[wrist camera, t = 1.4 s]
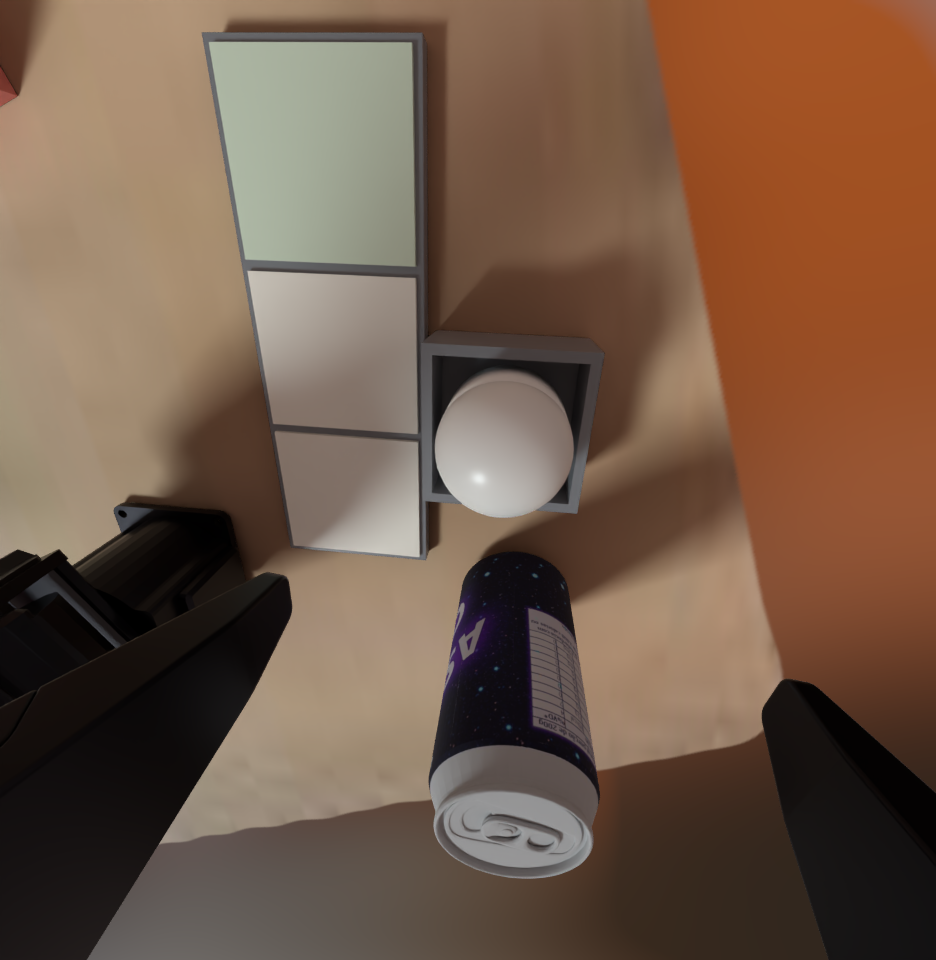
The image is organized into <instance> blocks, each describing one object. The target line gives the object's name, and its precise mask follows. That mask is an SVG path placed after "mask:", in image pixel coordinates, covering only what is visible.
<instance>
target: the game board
mask: <svg viewBox="0 0 936 960" xmlns="http://www.w3.org/2000/svg"><path fill="white" fill-rule="evenodd" d="M202 37H203V42H204V48H205V54H206V60H207V65H208V71H209V77H210V83H211V89H212V94H213V100H214V106H215V112H216V118H217V123H218V129H219V135H220V141H221V146H222V152H223V158H224V164H225V170H226V175H227V181H228V187H229V193H230V199H231V204H232V210H233V216H234V222H235V227H236V233H237V239H238V245H239V251H240V256H241V262H242V268H243V274H244V280H245V285H246V291H247V297H248V303H249V308H250V314H251V320H252V326H253V332H254V337H255V343H256V349H257V355H258V361H259V366H260V372H261V378H262V384H263V389H264V395H265V401H266V407H267V413H268V418H269V424H270V430H271V436H272V442H273V447H274V453H275V459H276V465H277V470H278V476H279V482H280V488H281V494H282V499H283V505H284V511H285V517H286V523H287V528H288V534H289V540H290V546H291V548H301V549H312V550H323V551H333V552H344V553H355V554H365V555H376V556H387V557H397V558H408V559H419V560H426V559H427V555H428V552H429V501H423V493H422V396H421V342H423V341H424V340H425V339H427V338H428V169H427V43H426V40H425V38H424V35H423V33H232V32H202Z"/></svg>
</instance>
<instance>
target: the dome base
mask: <svg viewBox="0 0 936 960" xmlns="http://www.w3.org/2000/svg"><path fill="white" fill-rule="evenodd" d="M604 354H605V353H604V352H603V351H602V350H601V349H600V348H599V347H598V346H597V345H596V344H595V343H594V342H593V341H592V340H591V339H590V338H578V337H559V336H540V335H521V334H502V333H484V332H465V331H446V330H437V331H435V332H434V333H433V334H432V335H430V336H429V337H428V338H427V339H425V340H424V341H423V342H421V396H422V493H423V501H431V502H443V503H455V504H462V503H461V502H460V501H458V500H457V499H456V498H455V497H454V496H453V495H452V494H451V493H450V491H449V490H448V489H447V487H446V486H445V484H444V482H443V480H442V478H441V476H440V474H439V471H438V468H437V464H436V458H435V439H436V434H437V430H438V427H439V424H440V421H441V419H442V417H443V415H444V413H445V411H446V409H447V407H448V405H449V403H450V401H451V399H452V397H453V395H454V393H455V392H456V391H457V389H458V388H459V387H460V386H461V385H462V383H463V382H464V381H466V380H467V379H468V378H469V377H471V376H472V375H474V374H475V373H477V372H479V371H482V370H484V369H487V368H490V367H494V366H501V365H511V366H519V367H522V368H526V369H529V370H531V371H534V372H535V373H537V374H539V375H541V376H542V377H543V378H545V379H546V380H547V381H548V382H549V383H550V384H551V385H552V386H553V387H554V389H555V390H556V391H557V393H558V394H559V396H560V398H561V400H562V403H563V406H564V409H565V412H566V415H567V418H568V421H569V424H570V427H571V431H572V436H573V445H574V452H573V460H572V464H571V469H570V472H569V474H568V477H567V479H566V480H565V482H564V484H563V486H562V487H561V488H560V490H559V491H558V493H557V494H556V495H555V496H554V497H553V498H552V499H551V500H550V501H548V502H547V503H546V504H545V505H543V506H541V507H540V508H538V509H537V510H538V511H550V512H562V513H574V514H577V512H578V506H579V500H580V494H581V488H582V482H583V477H584V471H585V465H586V459H587V453H588V448H589V442H590V436H591V430H592V424H593V418H594V413H595V407H596V401H597V395H598V389H599V384H600V378H601V372H602V366H603V360H604Z"/></svg>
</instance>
